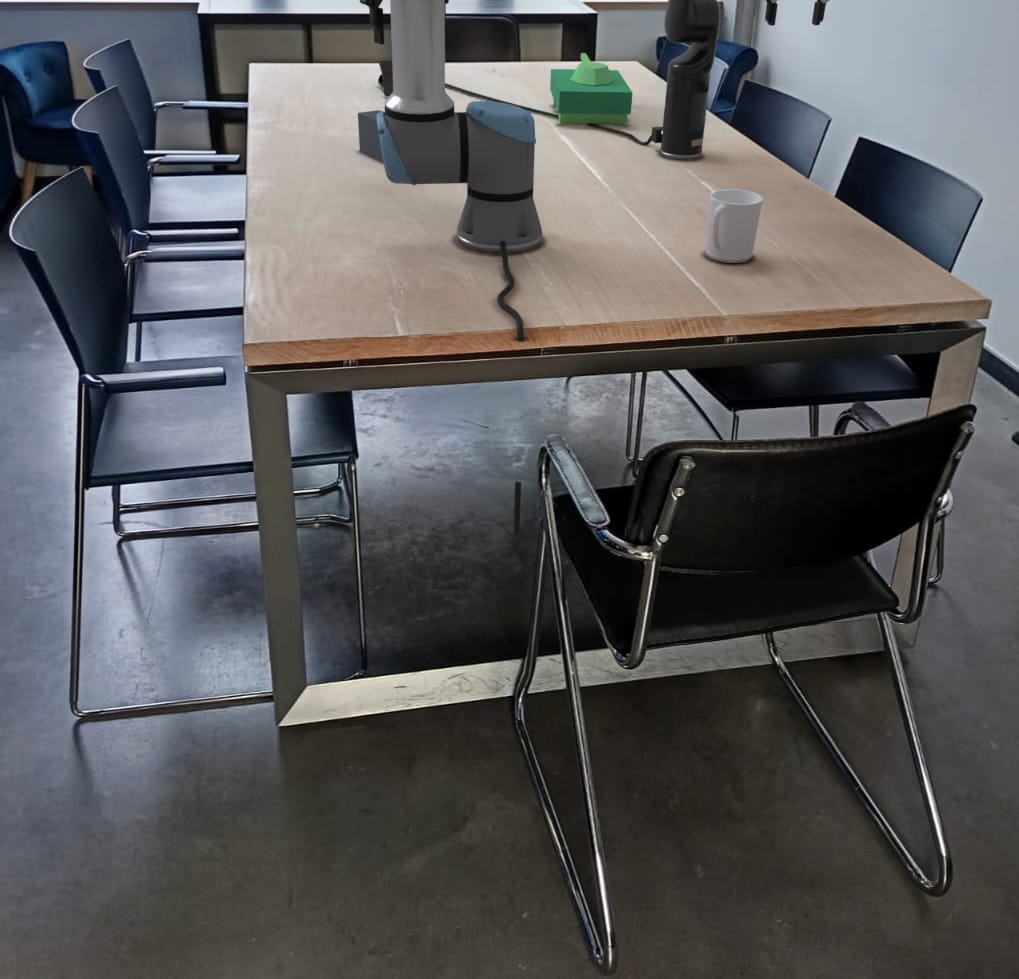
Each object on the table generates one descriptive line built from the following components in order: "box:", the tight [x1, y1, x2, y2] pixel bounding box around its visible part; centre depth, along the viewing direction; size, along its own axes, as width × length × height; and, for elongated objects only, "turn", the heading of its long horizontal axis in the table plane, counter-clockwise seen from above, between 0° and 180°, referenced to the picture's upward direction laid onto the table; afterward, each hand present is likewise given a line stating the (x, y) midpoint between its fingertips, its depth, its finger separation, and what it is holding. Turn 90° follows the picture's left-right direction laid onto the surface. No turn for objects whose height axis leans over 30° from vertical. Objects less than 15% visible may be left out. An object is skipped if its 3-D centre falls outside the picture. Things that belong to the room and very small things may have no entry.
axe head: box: [377, 59, 393, 98], centre depth 299 cm, size 18×8×15 cm
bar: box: [357, 109, 384, 164], centre depth 237 cm, size 23×5×8 cm, turn 35°
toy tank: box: [549, 52, 633, 126], centre depth 280 cm, size 18×12×35 cm
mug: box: [705, 188, 764, 264], centre depth 188 cm, size 11×9×10 cm
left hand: (409, 40), depth 221 cm, fingers open, 13 cm apart
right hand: (793, 24), depth 200 cm, fingers open, 8 cm apart
